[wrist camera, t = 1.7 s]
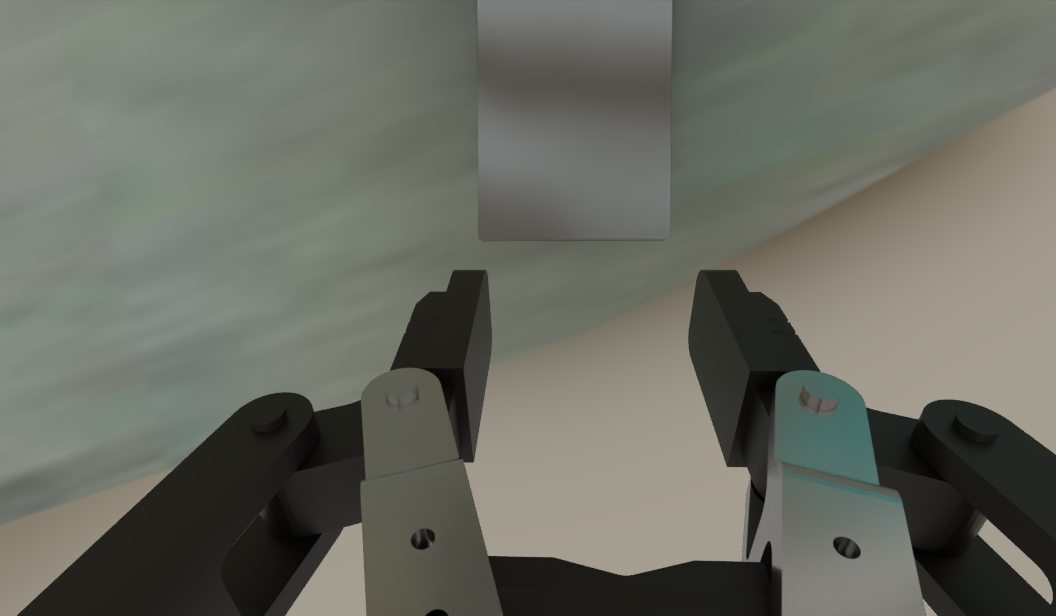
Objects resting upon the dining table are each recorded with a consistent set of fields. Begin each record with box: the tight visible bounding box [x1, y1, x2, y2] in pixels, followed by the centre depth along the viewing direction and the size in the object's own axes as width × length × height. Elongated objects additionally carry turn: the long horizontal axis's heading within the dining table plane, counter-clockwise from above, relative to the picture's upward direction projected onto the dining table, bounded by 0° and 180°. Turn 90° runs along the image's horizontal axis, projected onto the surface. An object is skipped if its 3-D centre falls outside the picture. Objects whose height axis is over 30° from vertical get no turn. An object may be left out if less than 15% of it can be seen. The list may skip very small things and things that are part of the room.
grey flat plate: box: [477, 0, 672, 241], centre depth 24 cm, size 14×8×2 cm, turn 2°
